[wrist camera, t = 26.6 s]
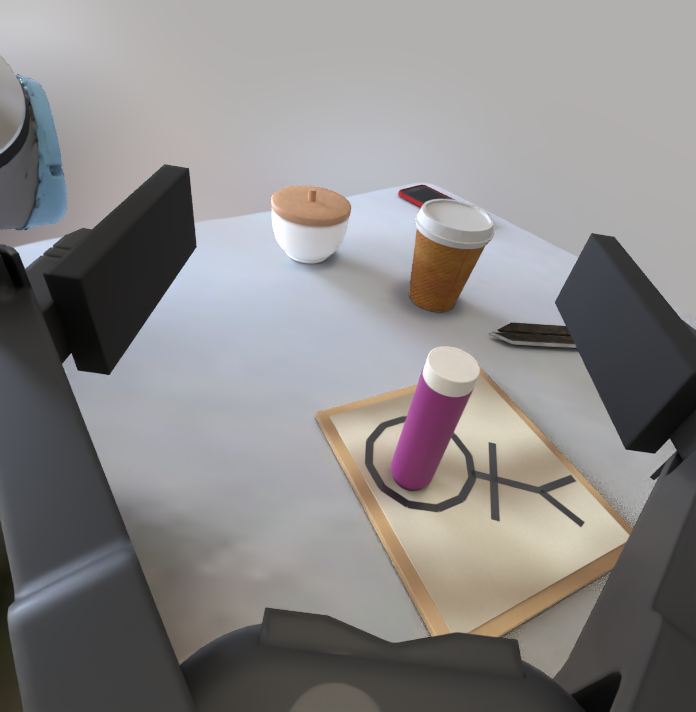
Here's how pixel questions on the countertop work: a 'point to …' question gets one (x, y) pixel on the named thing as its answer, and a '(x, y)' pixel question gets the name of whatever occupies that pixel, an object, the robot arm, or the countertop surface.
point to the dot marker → (433, 415)
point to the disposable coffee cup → (446, 251)
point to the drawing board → (478, 512)
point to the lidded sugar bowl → (309, 222)
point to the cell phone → (421, 194)
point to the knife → (533, 338)
